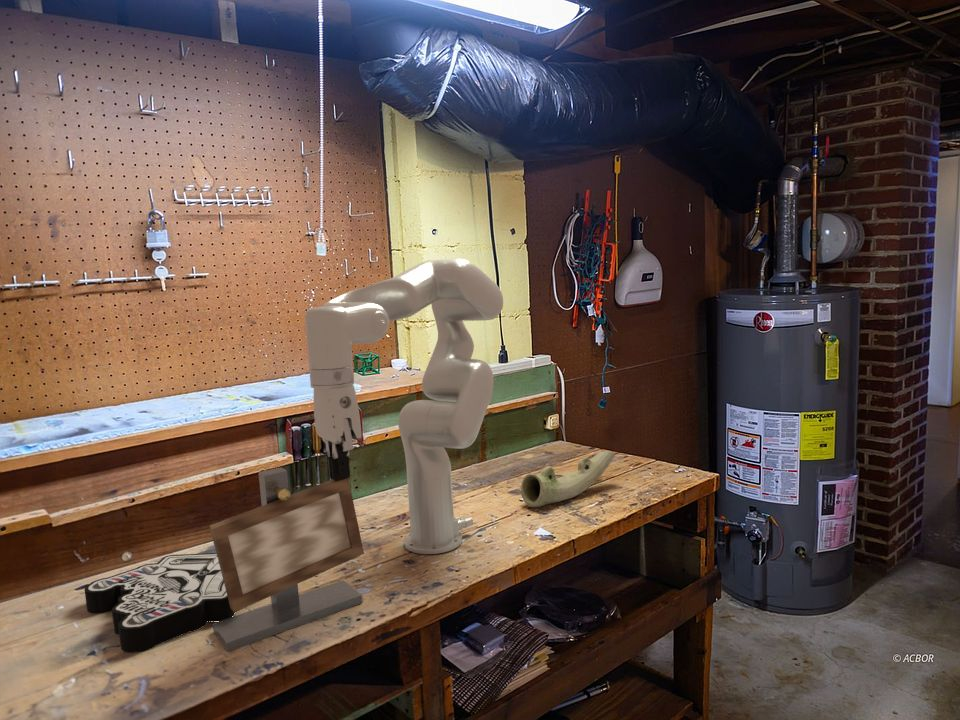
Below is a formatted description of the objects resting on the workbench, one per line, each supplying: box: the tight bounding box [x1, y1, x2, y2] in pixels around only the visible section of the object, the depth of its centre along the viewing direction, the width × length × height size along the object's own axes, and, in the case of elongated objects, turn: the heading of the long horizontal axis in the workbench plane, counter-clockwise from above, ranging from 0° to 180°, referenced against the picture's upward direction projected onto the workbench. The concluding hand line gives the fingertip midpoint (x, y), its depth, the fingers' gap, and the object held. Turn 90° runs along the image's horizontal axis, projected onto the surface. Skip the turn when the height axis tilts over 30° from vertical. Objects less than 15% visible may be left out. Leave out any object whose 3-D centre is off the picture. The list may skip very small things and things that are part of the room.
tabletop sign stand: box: [212, 467, 363, 652], centre depth 118 cm, size 24×8×26 cm, turn 126°
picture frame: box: [209, 477, 365, 614], centre depth 118 cm, size 24×2×15 cm, turn 126°
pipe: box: [520, 450, 616, 508], centre depth 174 cm, size 28×8×10 cm, turn 129°
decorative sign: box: [84, 552, 235, 654], centre depth 129 cm, size 28×4×30 cm
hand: (340, 477), depth 123 cm, fingers closed
